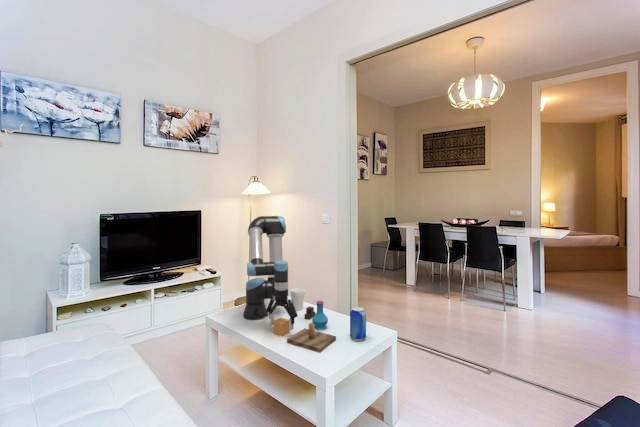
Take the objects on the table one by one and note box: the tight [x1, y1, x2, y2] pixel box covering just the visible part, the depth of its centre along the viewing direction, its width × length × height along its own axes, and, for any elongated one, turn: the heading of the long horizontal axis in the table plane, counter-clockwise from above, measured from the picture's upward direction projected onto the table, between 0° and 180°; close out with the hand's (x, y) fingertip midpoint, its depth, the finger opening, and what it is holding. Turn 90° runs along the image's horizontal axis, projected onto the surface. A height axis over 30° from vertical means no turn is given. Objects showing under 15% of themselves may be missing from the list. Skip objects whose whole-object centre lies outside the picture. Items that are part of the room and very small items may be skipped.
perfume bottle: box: [311, 300, 329, 331], centre depth 179 cm, size 9×9×15 cm
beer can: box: [349, 306, 367, 342], centre depth 165 cm, size 8×8×16 cm
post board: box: [286, 322, 337, 353], centre depth 161 cm, size 20×16×9 cm
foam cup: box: [290, 287, 306, 312], centre depth 210 cm, size 10×9×13 cm
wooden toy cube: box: [272, 317, 291, 337], centre depth 172 cm, size 6×6×7 cm
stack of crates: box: [304, 306, 316, 321], centre depth 195 cm, size 15×15×7 cm
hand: (281, 327), depth 171 cm, fingers open, 13 cm apart
